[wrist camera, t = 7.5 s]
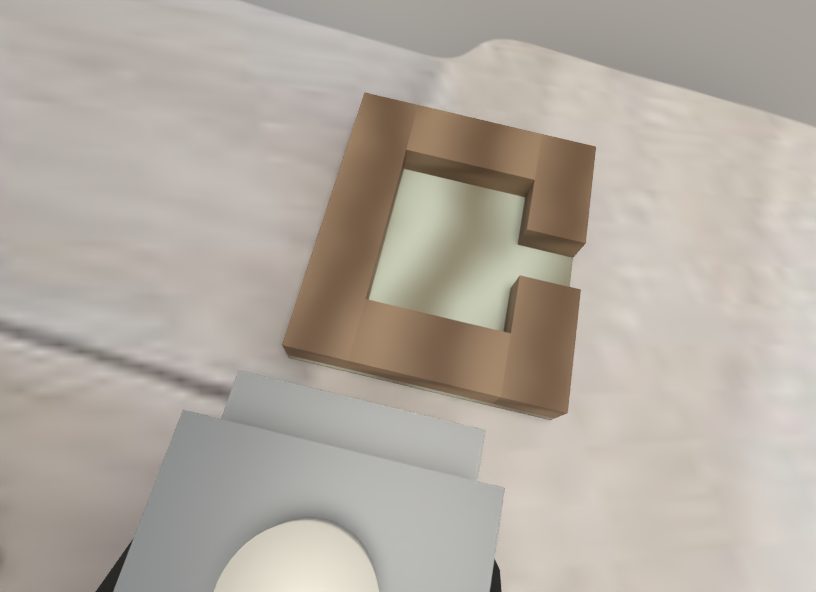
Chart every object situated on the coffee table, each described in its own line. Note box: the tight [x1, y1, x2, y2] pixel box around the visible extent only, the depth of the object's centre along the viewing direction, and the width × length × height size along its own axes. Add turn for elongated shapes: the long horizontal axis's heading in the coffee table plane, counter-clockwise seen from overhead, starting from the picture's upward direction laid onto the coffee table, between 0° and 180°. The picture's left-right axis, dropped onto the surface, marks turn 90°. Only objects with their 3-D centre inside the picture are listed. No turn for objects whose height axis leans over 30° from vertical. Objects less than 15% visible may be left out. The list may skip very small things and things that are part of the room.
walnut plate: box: [282, 93, 596, 420], centre depth 31 cm, size 15×17×3 cm
